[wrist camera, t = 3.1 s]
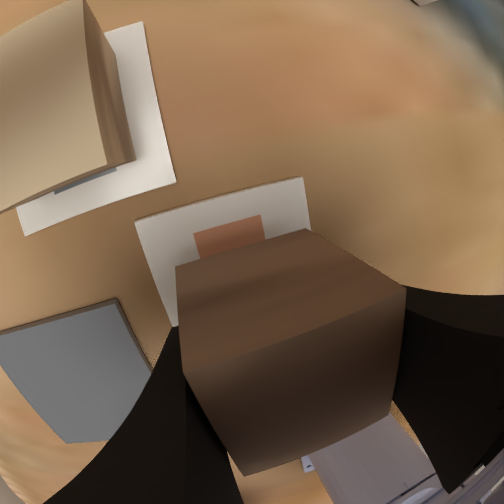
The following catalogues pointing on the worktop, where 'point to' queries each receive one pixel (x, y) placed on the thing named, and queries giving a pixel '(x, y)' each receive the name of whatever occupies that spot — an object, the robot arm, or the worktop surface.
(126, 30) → the code tile
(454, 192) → the worktop surface
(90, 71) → the oak block
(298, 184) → the code tile
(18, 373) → the slate coaster
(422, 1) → the milk carton
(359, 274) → the walnut block
